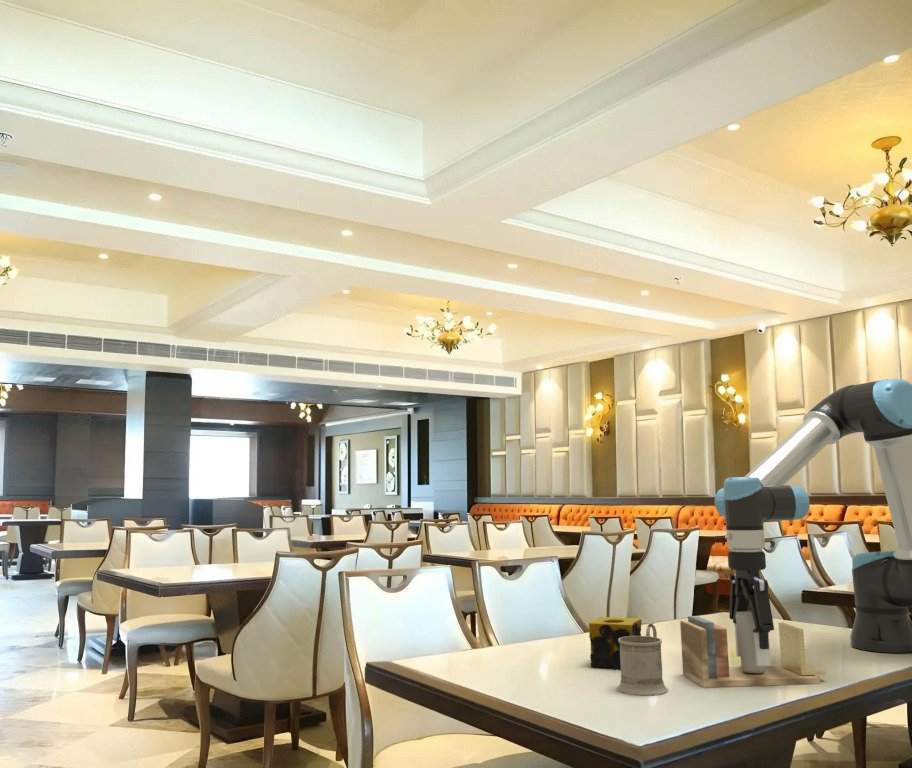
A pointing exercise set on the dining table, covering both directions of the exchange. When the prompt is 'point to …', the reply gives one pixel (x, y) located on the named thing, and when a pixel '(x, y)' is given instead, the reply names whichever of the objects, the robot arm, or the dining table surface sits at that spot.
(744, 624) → the beverage can
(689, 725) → the dining table surface
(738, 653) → the robot arm
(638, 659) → the mug
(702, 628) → the shelf
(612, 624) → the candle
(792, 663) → the bookend
